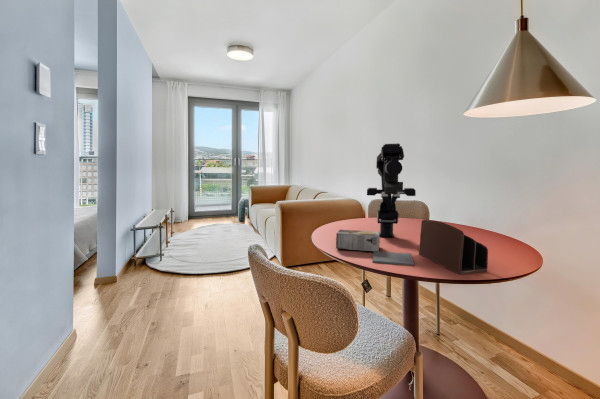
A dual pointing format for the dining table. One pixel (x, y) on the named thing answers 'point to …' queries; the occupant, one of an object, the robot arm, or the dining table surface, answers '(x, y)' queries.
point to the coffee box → (358, 240)
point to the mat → (392, 258)
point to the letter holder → (452, 248)
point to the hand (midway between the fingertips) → (390, 212)
